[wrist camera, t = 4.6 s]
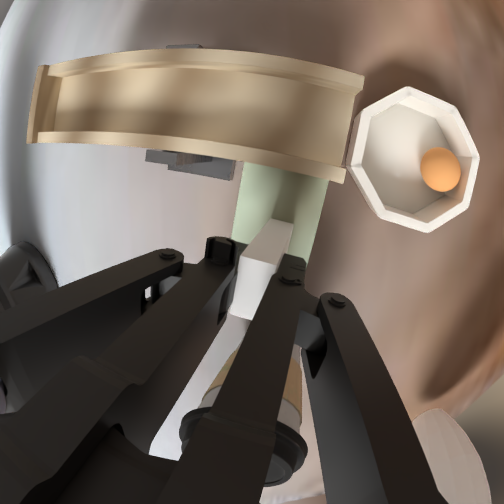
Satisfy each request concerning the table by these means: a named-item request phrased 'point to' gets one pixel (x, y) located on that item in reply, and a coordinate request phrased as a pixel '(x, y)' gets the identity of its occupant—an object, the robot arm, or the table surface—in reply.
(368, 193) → the bowl
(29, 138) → the lever
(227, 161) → the fulcrum
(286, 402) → the coffee cup
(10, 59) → the table surface
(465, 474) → the cup
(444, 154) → the ball
